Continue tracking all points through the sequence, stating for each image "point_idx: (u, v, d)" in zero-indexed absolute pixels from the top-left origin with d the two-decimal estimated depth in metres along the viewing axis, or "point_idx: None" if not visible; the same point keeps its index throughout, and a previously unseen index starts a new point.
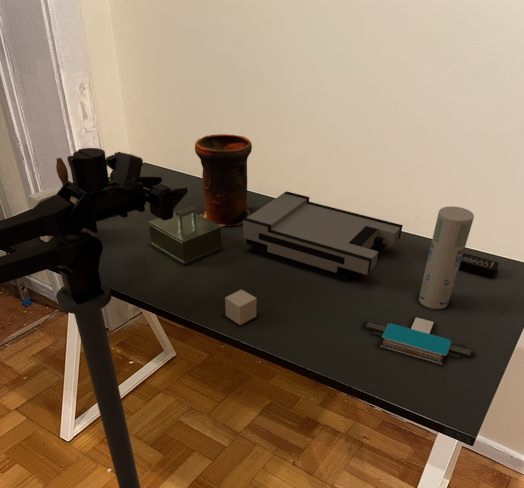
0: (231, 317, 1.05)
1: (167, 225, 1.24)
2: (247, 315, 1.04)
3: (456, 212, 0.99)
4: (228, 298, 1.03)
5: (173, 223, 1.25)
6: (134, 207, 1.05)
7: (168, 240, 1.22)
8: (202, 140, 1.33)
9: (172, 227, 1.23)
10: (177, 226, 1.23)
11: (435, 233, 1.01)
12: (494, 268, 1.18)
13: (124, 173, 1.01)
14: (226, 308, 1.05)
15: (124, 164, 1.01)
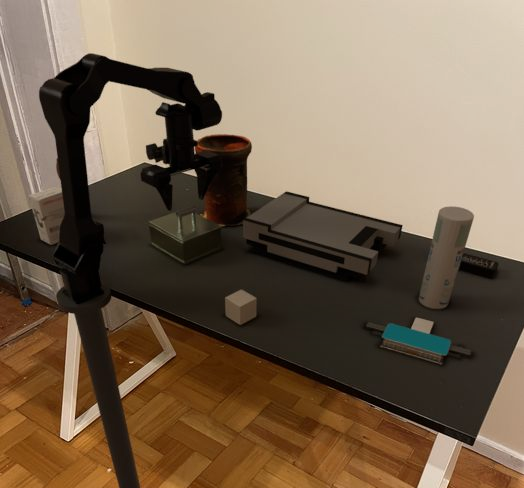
0: (231, 317, 1.05)
1: (167, 225, 1.24)
2: (247, 315, 1.04)
3: (456, 212, 0.99)
4: (228, 298, 1.03)
5: (173, 223, 1.25)
6: None
7: (168, 240, 1.22)
8: (202, 140, 1.33)
9: (172, 227, 1.23)
10: (177, 226, 1.23)
11: (435, 233, 1.01)
12: (494, 268, 1.18)
13: None
14: (226, 308, 1.05)
15: None
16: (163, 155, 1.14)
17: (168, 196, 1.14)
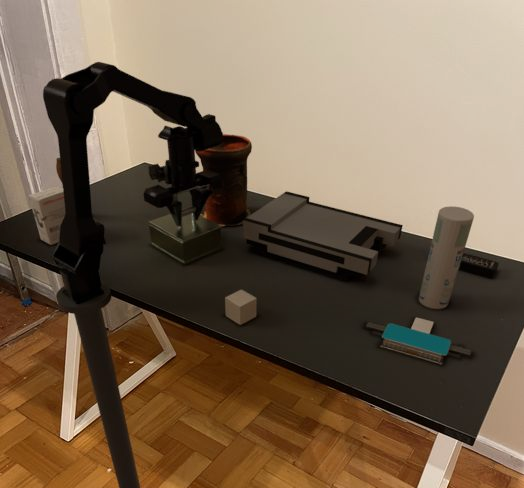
0: (231, 317, 1.05)
1: (167, 225, 1.24)
2: (247, 315, 1.04)
3: (456, 212, 0.99)
4: (228, 298, 1.03)
5: (173, 223, 1.25)
6: None
7: (168, 240, 1.22)
8: None
9: (172, 227, 1.23)
10: (177, 226, 1.23)
11: (435, 233, 1.01)
12: (494, 268, 1.18)
13: None
14: (226, 308, 1.05)
15: None
16: (165, 175, 1.16)
17: (177, 213, 1.18)
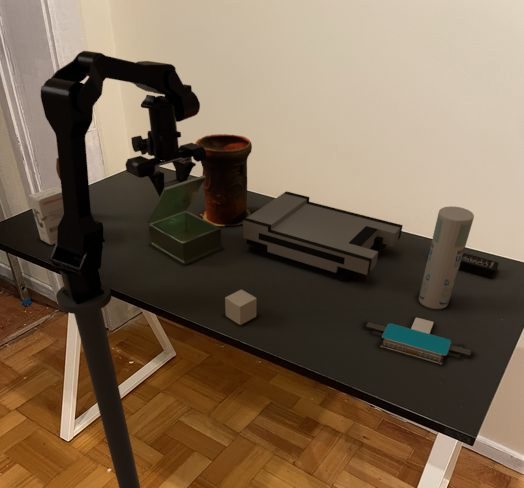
0: (231, 317, 1.05)
1: None
2: (247, 315, 1.04)
3: (456, 212, 0.99)
4: (228, 298, 1.03)
5: None
6: None
7: (168, 240, 1.22)
8: (202, 140, 1.33)
9: None
10: None
11: (435, 233, 1.01)
12: (494, 268, 1.18)
13: None
14: (226, 308, 1.05)
15: None
16: (148, 147, 1.17)
17: (160, 184, 1.18)
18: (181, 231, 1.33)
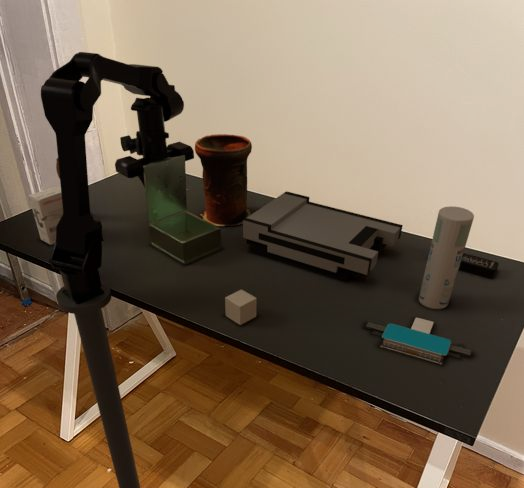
0: (231, 317, 1.05)
1: None
2: (247, 315, 1.04)
3: (456, 212, 0.99)
4: (228, 298, 1.03)
5: None
6: (166, 144, 1.20)
7: (168, 240, 1.22)
8: (202, 140, 1.33)
9: None
10: None
11: (435, 233, 1.01)
12: (494, 268, 1.18)
13: None
14: (226, 308, 1.05)
15: None
16: (137, 147, 1.20)
17: None
18: (181, 231, 1.33)
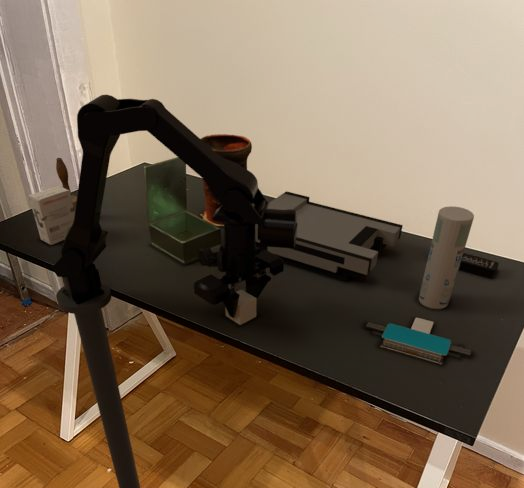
0: (231, 317, 1.05)
1: None
2: (247, 315, 1.04)
3: (456, 212, 0.99)
4: None
5: None
6: None
7: (168, 240, 1.22)
8: (202, 140, 1.33)
9: None
10: None
11: (435, 233, 1.01)
12: (494, 268, 1.18)
13: None
14: None
15: (220, 246, 1.02)
16: (219, 262, 0.98)
17: (233, 305, 1.00)
18: (181, 231, 1.33)
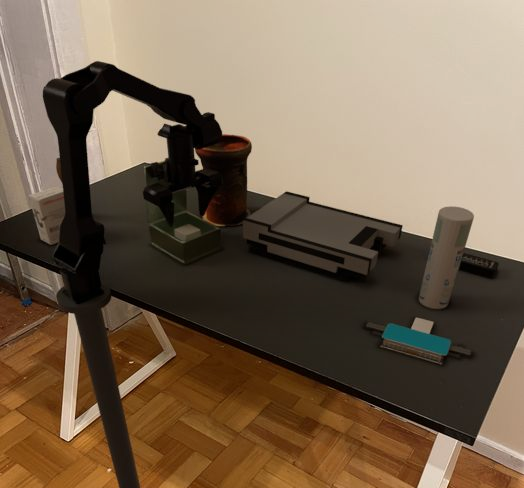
0: None
1: None
2: None
3: (456, 212, 0.99)
4: (177, 229, 1.25)
5: None
6: None
7: (168, 240, 1.22)
8: None
9: None
10: None
11: (435, 233, 1.01)
12: (494, 268, 1.18)
13: None
14: None
15: None
16: (165, 174, 1.16)
17: (170, 214, 1.16)
18: None
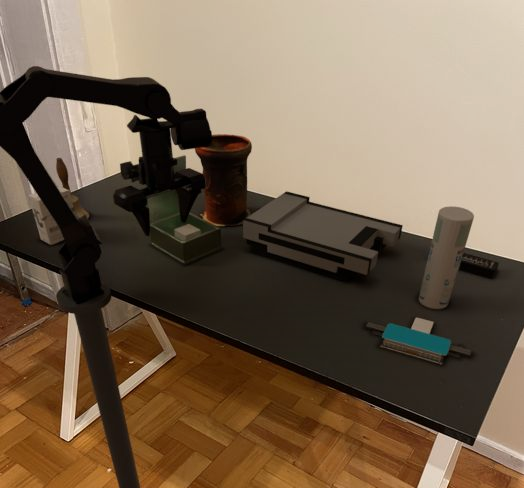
0: None
1: None
2: None
3: (456, 212, 0.99)
4: (177, 229, 1.25)
5: None
6: None
7: (168, 240, 1.22)
8: None
9: None
10: None
11: (435, 233, 1.01)
12: (494, 268, 1.18)
13: None
14: None
15: None
16: (139, 175, 1.01)
17: (145, 220, 1.02)
18: None
